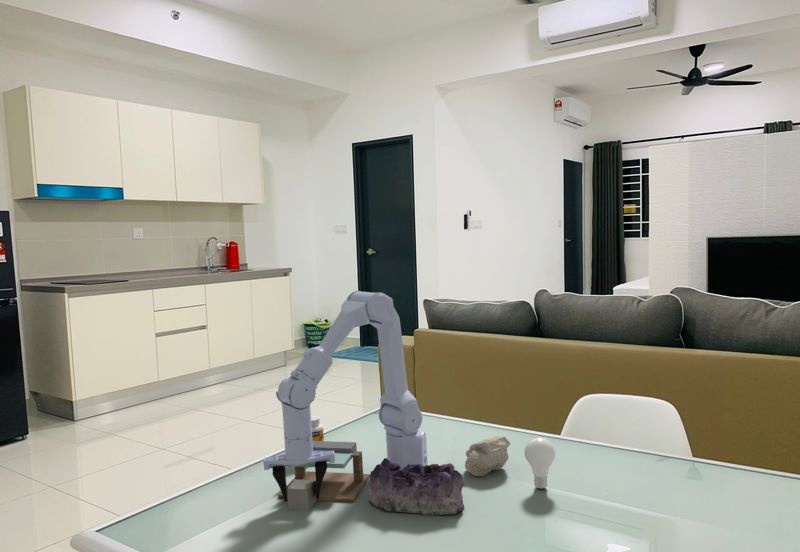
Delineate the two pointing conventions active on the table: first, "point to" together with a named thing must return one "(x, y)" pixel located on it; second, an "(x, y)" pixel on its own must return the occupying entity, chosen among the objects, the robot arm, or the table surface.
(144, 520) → the table surface
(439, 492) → the geode
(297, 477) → the frame
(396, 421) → the robot arm
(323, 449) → the trapdoor
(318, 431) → the supplement bottle
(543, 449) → the lightbulb
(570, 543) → the table surface
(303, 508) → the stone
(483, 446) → the fossil replica
